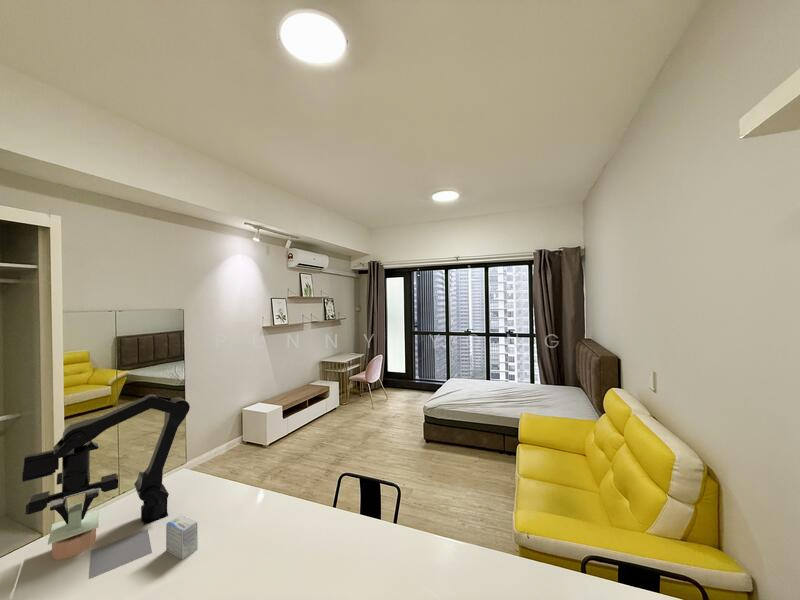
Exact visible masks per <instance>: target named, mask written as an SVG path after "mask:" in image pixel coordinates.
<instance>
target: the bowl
mask: <svg viewBox="0 0 800 600" xmlns="http://www.w3.org/2000/svg"><path fill="white" fill-rule="evenodd" d="M96 542H97V528H95V529H92V530H89V531H86V532H84V533H81V534H78V535H75V536H72V537H69V538H66V539H63V540H60V541H57V542H54V543H52V544H51V558H52V559H53V560H57V561H59V560H65V559H66V560H67V559H69V558H70V559H71V558H73V557H75V556H77V555H80V554H82V553H83V552H86V550H89V549H90V548H91V547H92V546H93V545H94V544H96Z"/></svg>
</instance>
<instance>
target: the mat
mask: <svg viewBox="0 0 800 600" xmlns="http://www.w3.org/2000/svg"><path fill="white" fill-rule="evenodd" d="M150 554H153V550H152V546H151V539H150V534H149V529H148V528H147V529H144V530H142V531H139V532H136V533H134V534H131V535H129V536H125V537H123V538H121V539H118V540H115V541H112V542H109V543H106V544H104V545H102V546H99V547H97V548H94V549H91V550H90V559H89V576H88V577H89V578H88V580H90V579H94V578H95V577H99V576H100V575H103V574H104V573H107V572H110V571H112V570H115V569H117V568H120V567H122V566H124V565H127V564H129V563H132V562H133V561H136V560H139V559H141V558H143V557H146V556H147V555H148V556H149V555H150Z"/></svg>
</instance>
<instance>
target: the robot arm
mask: <svg viewBox="0 0 800 600" xmlns="http://www.w3.org/2000/svg"><path fill="white" fill-rule="evenodd" d="M190 408H191V405H190V403H189V401H187V400H185V399H184V398H183V397H180V396H175V397H172V398H171V397H167V396H161V395H155V394H154V393H153V394H152V393H151V394H147V395H145V396H144V397H142V398H140V399H137V400H135V401H133V402H131V403H128V404H126V405H123V406H121V407H118V408H117V409H115V410H112V411H110V412H108V413H106V414H104V415H101V416H98V417H93V418H89V419H84V420H82V421H79V422H78V421H77V422H75V423H72V424H70V425H68V426H66V428H65V429H64V430H63V432H62V437H61V438H60V439H59V441H57V443H56V444H55V445H54V446H53V447H52V450H46V451H42V452H38V453H30V454H26V455H24V458H23V459H24V460H23V461H24V463H23V467H22V468H23V469H22V473H21V474H22V479H21V481H22V483H27V482H31V481H34V480H39V479H42V478H46V477H50V476H53V474H55V473H56V471H57V470H59V469H60V465H59V464H60V462H59V461H60V459H61V458H62V459H61V460H62V461H61V472H59V473H57V475H56V485H57V486H58V485H61V492H57V493H54V494H51V492H50V490H49V491H44V492H41V493H37V494H33V495H31V496H30V497H29V498H28V500H27V503H26V504H25V515H32V514H36V513H38V512H42V511H44V510H45V508H47V507H48V504H49V505H50V507H49V511H56V512H57V513H58V514H59V516H61V517H62V520H63V521H65V522H66V524H68V514H69V508H68V499H69V498H70V497H71V498H72V497H75V496H78V495H82V494H85V495H84V501H83V503H82V520H83V519H84V517H85V514H86V513H88V512H87V511H88V509H89V507H90V505H91V504H92V503H93V501H94V499H95V498H98V497H99V495H100V492H99V491H101V492H103V493H107V492H110V491H113V490H117V489H118V488H119V474H117V473H115V472H114V473H111V474H107V475H105V476H104V475H103V476H101V477H100V481H95V482H93V483H90V482H91V471H90V469H91V468H90V466H91V465H90V463H91V460H90V459H91V458H90V457H91V456H90V455H91V454H90V453H91V452H92V451H95V450H98V449H99V448H100V447H99V445H98V443H96V442H94V441H93V440H94V439H96V438H97V437H99V436H100V435H101V434H102V433H103V432H105V431H106V430H108V429H110V428H112V427H114V426H117V425H119V424H121V423H123V422H126V421H127V420H129V419H132V418H133V417H136V416H138V415H139V414H140V415H141V414H142V413H145V412H146V411H149V410H157V411H160V412H163V413H164V417H163V419H164V422H163V426H162V428H161V432H160V434H159V438H158V439H157V442H156V445H155V447H154V451H153V454H152V455H151V459H150V462H149V465H148V466H147V468H146V469H144V471H139V472H138V475H137V479H136V480H135V482H134V487H135V492H136V493H137V496H138V498H139V500H140V501H143V502H142V505H140V520H141V522H143V525H144V526H145V525H148V524H151V523H153V522H156V521H159V520H162V519H165V518H167V517H169V513H168V498H169V495H170V493H169V491H168V490H167V489H166V486H165V485H164V484H163V476H164V475H163V474H164V473H163V472H164V471H163V470H164V467H165V465H166V464H165V463H166V462H167V459H168V457H169V456H168V455H169V453H170V450H171V448H172V445H173V442H174V440H175V436H176V435H177V431H178V428H179V427H180V425H181V424H182V423H183V421H185V419H186V416H187V415H188V413H189V411H190Z"/></svg>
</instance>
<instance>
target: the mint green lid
mask: <svg viewBox="0 0 800 600" xmlns="http://www.w3.org/2000/svg"><path fill="white" fill-rule="evenodd" d="M82 510H83V501H82V502H77V503H75V504H70V505H69V508H68V512H69V514H68V524H66V522H65V521H64V520H62V521H59V522H55V523H52V524H51V529H50V532H49V537H48V541H47V545H52V543H54V542H57V541H60V540H63V539H66V538H69V537H72V536H75V535H78V534H81V533H84V532H86V531H89V530H92V529H95V528H96V529H98V528H99V523H100V521H99V518H100V510H99V509H96V510H92V511H90V512H86V514H85V517H84V519H83V520H82ZM86 517H87V518H86Z"/></svg>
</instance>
